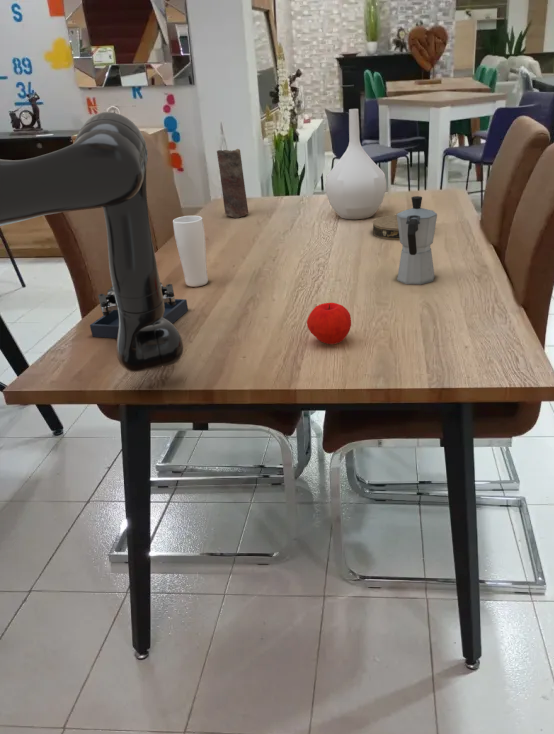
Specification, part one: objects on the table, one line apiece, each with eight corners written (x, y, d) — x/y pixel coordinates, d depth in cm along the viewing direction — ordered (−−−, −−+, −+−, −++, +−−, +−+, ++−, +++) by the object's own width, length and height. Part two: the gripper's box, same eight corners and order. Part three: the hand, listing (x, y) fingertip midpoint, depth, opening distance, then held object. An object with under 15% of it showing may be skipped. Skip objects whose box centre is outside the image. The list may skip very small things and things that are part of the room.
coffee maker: (400, 269, 163) (401, 190, 154) (438, 270, 160) (440, 190, 152) (390, 290, 150) (389, 205, 141) (430, 291, 148) (432, 205, 139)
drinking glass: (180, 289, 159) (170, 223, 151) (184, 280, 165) (174, 216, 157) (210, 287, 159) (200, 221, 151) (212, 278, 165) (204, 214, 157)
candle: (220, 216, 220) (211, 150, 210) (236, 211, 225) (229, 146, 215) (236, 219, 216) (229, 151, 206) (253, 214, 221) (246, 147, 211)
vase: (381, 207, 219) (380, 104, 205) (391, 220, 204) (390, 110, 189) (324, 211, 219) (319, 108, 204) (329, 225, 203) (324, 114, 188)
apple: (302, 348, 125) (299, 310, 122) (317, 332, 132) (315, 295, 128) (344, 352, 123) (342, 313, 119) (357, 335, 129) (356, 297, 126)
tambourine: (441, 234, 188) (441, 223, 186) (388, 242, 183) (388, 231, 182) (413, 222, 201) (413, 211, 199) (363, 230, 196) (363, 219, 195)
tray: (152, 340, 133) (150, 328, 132) (92, 336, 136) (89, 324, 135) (188, 310, 146) (186, 299, 145) (132, 307, 150) (130, 296, 148)
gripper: (177, 288, 126) (167, 265, 139) (96, 300, 122) (94, 275, 136) (183, 327, 129) (173, 300, 143) (105, 339, 126) (102, 311, 140)
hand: (134, 288), depth 139 cm, fingers open, 8 cm apart
